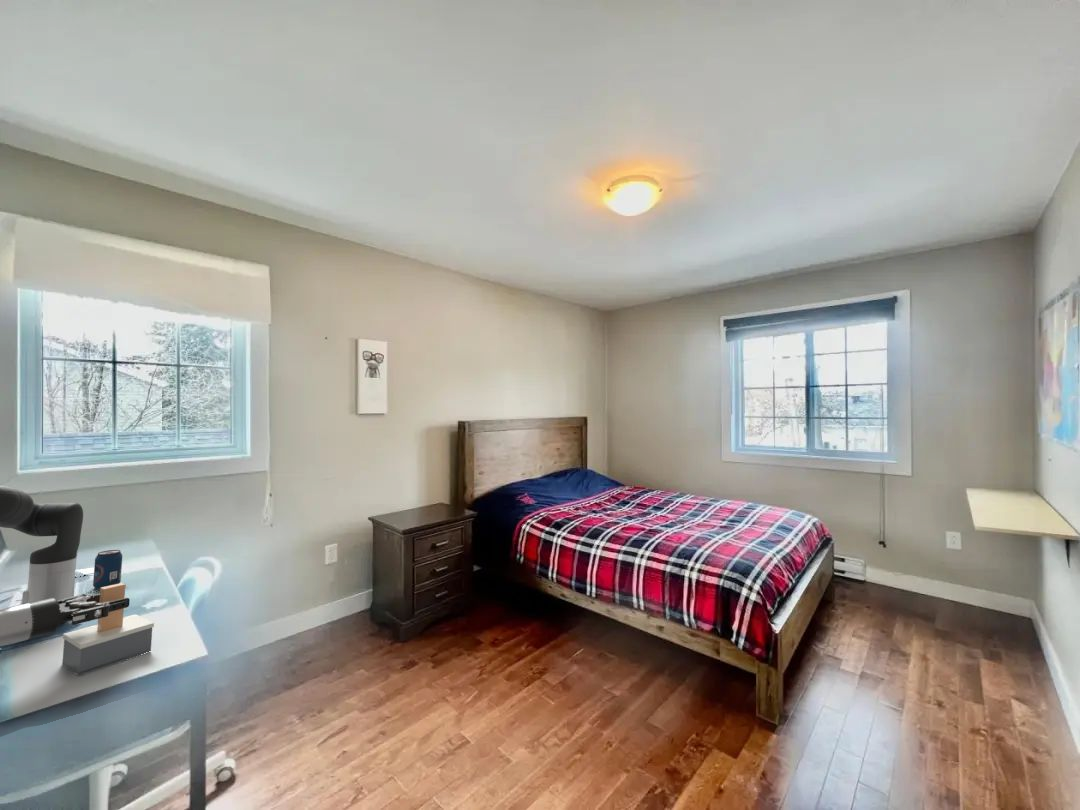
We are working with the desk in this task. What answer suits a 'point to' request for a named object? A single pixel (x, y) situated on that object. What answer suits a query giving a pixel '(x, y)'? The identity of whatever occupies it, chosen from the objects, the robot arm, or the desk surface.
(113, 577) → the soda can
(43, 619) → the robot arm
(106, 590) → the lid
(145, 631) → the tub
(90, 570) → the external hard drive
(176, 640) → the desk surface
